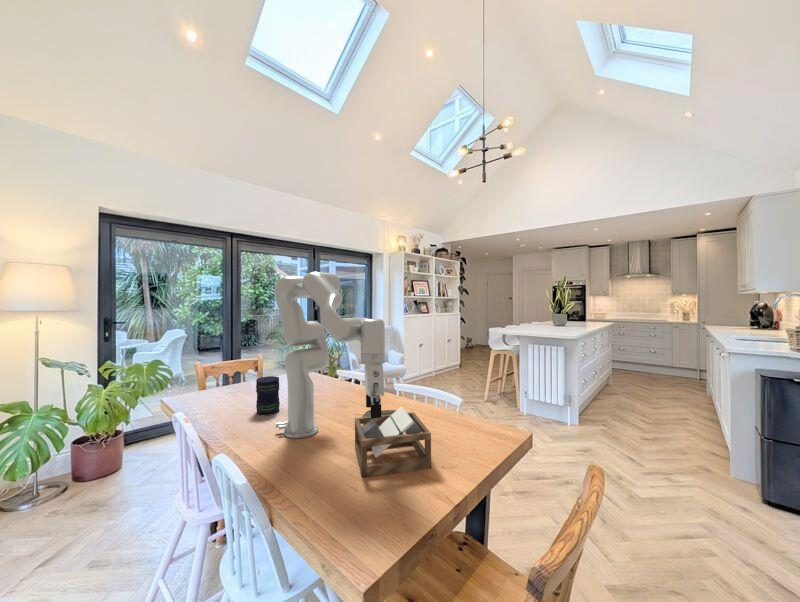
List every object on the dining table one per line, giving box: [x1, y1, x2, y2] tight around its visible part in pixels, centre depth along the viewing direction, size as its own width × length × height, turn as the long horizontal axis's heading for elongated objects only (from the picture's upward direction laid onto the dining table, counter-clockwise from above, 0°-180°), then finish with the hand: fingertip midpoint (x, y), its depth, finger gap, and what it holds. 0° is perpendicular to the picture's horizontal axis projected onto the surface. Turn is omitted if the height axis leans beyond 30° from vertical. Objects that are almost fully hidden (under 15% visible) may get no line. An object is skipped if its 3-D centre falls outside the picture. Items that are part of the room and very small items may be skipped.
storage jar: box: [255, 375, 281, 416], centre depth 146 cm, size 10×10×15 cm
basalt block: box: [361, 419, 384, 447], centre depth 101 cm, size 5×5×5 cm
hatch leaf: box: [371, 405, 422, 459], centre depth 103 cm, size 15×15×5 cm
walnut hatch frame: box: [354, 411, 432, 479], centre depth 103 cm, size 21×18×10 cm
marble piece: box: [361, 409, 397, 426], centre depth 131 cm, size 17×15×4 cm
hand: (373, 412), depth 101 cm, fingers open, 9 cm apart
